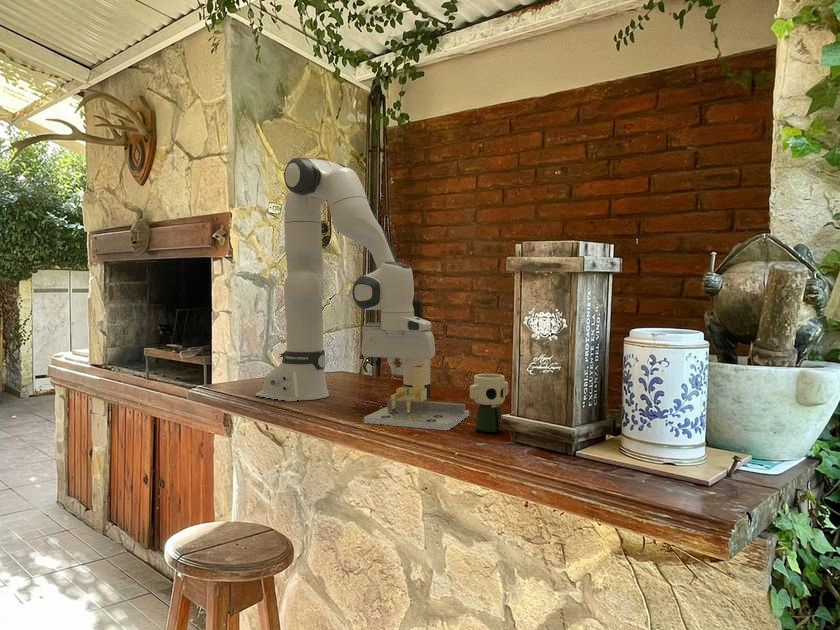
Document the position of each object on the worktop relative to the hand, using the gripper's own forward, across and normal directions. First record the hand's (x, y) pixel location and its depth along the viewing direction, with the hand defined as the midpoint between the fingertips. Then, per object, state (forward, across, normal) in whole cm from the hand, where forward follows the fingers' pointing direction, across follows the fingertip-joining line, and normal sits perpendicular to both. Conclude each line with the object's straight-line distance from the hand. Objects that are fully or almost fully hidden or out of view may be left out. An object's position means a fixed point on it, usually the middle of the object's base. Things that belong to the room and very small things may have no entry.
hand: (397, 374), depth 160 cm
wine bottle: (+10, -4, +24) cm, 27 cm away
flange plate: (+10, +8, -6) cm, 14 cm away
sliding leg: (+8, +6, -3) cm, 10 cm away
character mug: (+10, +28, -11) cm, 32 cm away
